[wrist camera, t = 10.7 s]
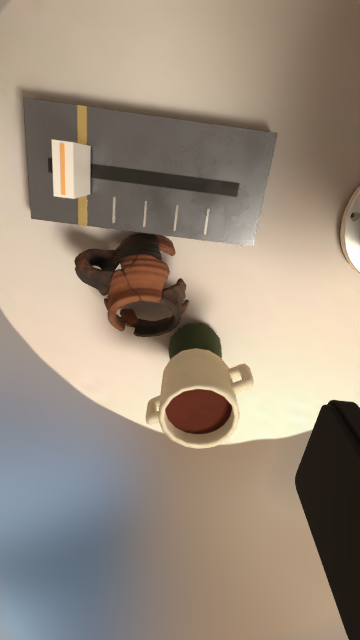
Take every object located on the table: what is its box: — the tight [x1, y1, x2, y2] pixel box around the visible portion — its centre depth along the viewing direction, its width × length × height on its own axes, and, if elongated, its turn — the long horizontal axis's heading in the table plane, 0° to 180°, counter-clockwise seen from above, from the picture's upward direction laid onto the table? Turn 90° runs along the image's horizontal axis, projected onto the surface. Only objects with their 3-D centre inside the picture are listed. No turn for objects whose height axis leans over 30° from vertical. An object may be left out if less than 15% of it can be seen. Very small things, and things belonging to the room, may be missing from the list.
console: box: [23, 98, 277, 246], centre depth 31 cm, size 22×10×2 cm, turn 83°
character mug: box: [146, 324, 254, 448], centre depth 34 cm, size 11×7×13 cm, turn 116°
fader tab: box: [52, 140, 91, 199], centre depth 28 cm, size 2×4×5 cm, turn 173°
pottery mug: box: [75, 233, 189, 337], centre depth 34 cm, size 12×10×8 cm
